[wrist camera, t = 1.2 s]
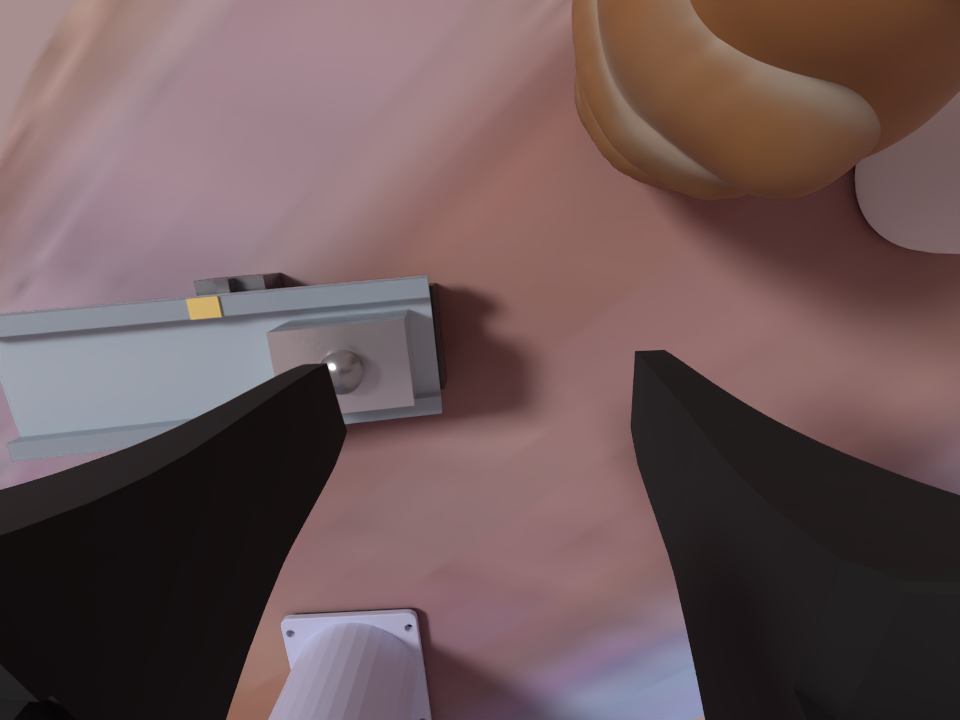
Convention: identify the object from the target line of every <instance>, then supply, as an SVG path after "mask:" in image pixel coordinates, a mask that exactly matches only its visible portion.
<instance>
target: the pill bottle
mask: <svg viewBox="0 0 960 720" xmlns="http://www.w3.org/2000/svg"><path fill="white" fill-rule="evenodd" d="M855 189H856V196H857V200H858V203H859V206H860V209H861V211H862V213H863V215H864V217H865V218H866V220H867V221H868V223H869V224H870V225H871V227H872V228H873V229H874V230H875V231H876V232H877V233H878V234H880V235H881V236H882V237H884V238H885V239H887V240H888V241H890V242H892V243H894V244H896V245H898V246H901V247H904V248H907V249H911V250H917V251H923V252H929V253H946V254H960V92H959V93H958V94H957V95H956V96H955V97H954V98H953V99H952V100H951V101H950V102H949V103H948V104H947V105H945V106H944V107H943V108H942V109H941V110H940V111H939V112H938V113H937V114H936V115H935V116H934V117H932V118H931V119H930V120H929V121H928V122H926V123H925V124H924V125H922V126H921V127H920V128H918V129H917V130H916V131H914V132H913V133H911V134H910V135H908V136H907V137H905V138H903V139H902V140H900V141H898V142H897V143H895V144H893V145H891V146H890V147H888V148H886V149H884V150H882V151H880V152H878V153H876V154H873V155H871V156H869V157H866V158H863V159H862V160H861V161H860V162H858V163H857V164H856V168H855Z"/></svg>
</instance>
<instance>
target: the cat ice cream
mask: <svg viewBox="0 0 960 720" xmlns="http://www.w3.org/2000/svg"><path fill="white" fill-rule="evenodd" d="M572 30H573V43H574V49H575V63H576V78H575V85H574V90H575V104H576V108H577V112H578V115H579V117H580V120H581V122H582V124H583V126H584V127H585V129H586V130H587V132H588V133H589V135H590V137H591V139H592V140H593V141H594V143H595V144H596V146H597V147H598V149H599V151H600V152H601V153H602V155H603V156H604V157H605V158H606V159H607V160H608V161H609V162H610V163H611V165H612V166H613V167H614V168H616V169H617V170H618V171H620V172H622V173H623V174H625V175H627V176H630V177H632V178H633V179H635V180H637V181H639V182H642V183H646V184H649V185H652V186H654V187H657V188H661V189H665V190H676V191H678V192H680V193H683V194H685V195H687V196H690V197H692V198H695V199H699V200H722V199H731V198H738V197H742V196H745V195H747V194H750V195H754V196H758V197H762V198H767V199H774V200H786V199H794V198H798V197H802V196H806V195H809V194H812V193H814V192H816V191H819V190H821V189H822V188H824V187H826V186H828V185H829V184H831V183H832V182H834V181H835V180H837V179H838V178H839V177H841V176H842V175H843V174H845V173H846V172H847V171H849V170H850V169H851V168H852V167H854V166H855V165H856V164H857V163H858V162H860V161H861V160H862V159H863V158H866V157H869V156H871V155H873V154H876V153H878V152H880V151H882V150H884V149H886V148H888V147H890V146H891V145H893V144H895V143H897V142H898V141H900V140H902V139H903V138H905V137H907V136H908V135H910V134H911V133H913V132H914V131H916V130H917V129H918V128H920V127H921V126H922V125H924V124H925V123H926V122H928V121H929V120H930V119H931V118H932V117H934V116H935V115H936V114H937V113H938V112H939V111H940V110H941V109H942V108H943V107H944V106H945V105H947V104H948V103H949V102H950V101H951V100H952V99H953V98H954V97H955V96H956V95H957V94H958V93H959V92H960V0H573V2H572Z"/></svg>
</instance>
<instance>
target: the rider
mask: <svg viewBox="0 0 960 720" xmlns="http://www.w3.org/2000/svg"><path fill="white" fill-rule="evenodd" d="M266 336H267V341H268V346H269V351H270V356H271V361H272V366H273V371H274V376H277V375H279V374H281V373H283V372H286V371H288V370H290V369H292V368H295V367H297V366H300V365H303V364H322V363H327V365H328V369H329V372H330V375H331V379H332V382H333V386H334V389H335V392H336V396H337V399H338V403H339V406H340V409H341V413H342V414H343V413H352V412H361V411H370V410H379V409H388V408H397V407H406V406H415V397H416V388H417V379H416V371H415V362H414V354H413V346H412V338H411V329H410V321H409V313H408V309H401V310H390V311H380V312H369V313H359V314H348V315H338V316H327V317H317V318H306V319H296V320H289V321H288V322H286V323H284V324H282V325H280V326H278V327H276V328H274V329H272V330H270V331H269V332H267V333H266Z"/></svg>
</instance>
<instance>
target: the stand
mask: <svg viewBox="0 0 960 720" xmlns="http://www.w3.org/2000/svg"><path fill="white" fill-rule="evenodd" d="M194 285H195V290H196V294H197V296H201V295H212V294H223V293H234V292H245V291H256V290H267V289H278V288H283V283H282V278H281V273H270V274H258V275H246V276H234V277H222V278H213V279H206V280H198V281H194ZM429 290H430V299H431V308H432V317H433V326H434V336H435V345H436V354H437V363H438V372H439V382H440V389H444V388H445V385H446V382H447V380H446V370H445V361H444V351H443V342H442V332H441V322H440V313H439V303H438V294H437V284H436V283H430V284H429Z"/></svg>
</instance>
